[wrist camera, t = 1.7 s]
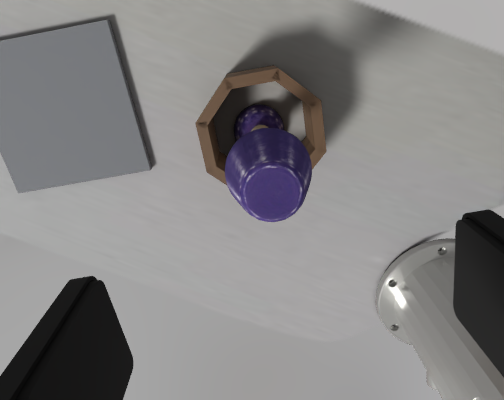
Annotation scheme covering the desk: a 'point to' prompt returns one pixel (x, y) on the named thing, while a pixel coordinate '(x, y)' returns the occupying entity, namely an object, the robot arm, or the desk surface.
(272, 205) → the toy lamp
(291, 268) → the desk surface
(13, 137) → the mat
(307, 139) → the holder ring
